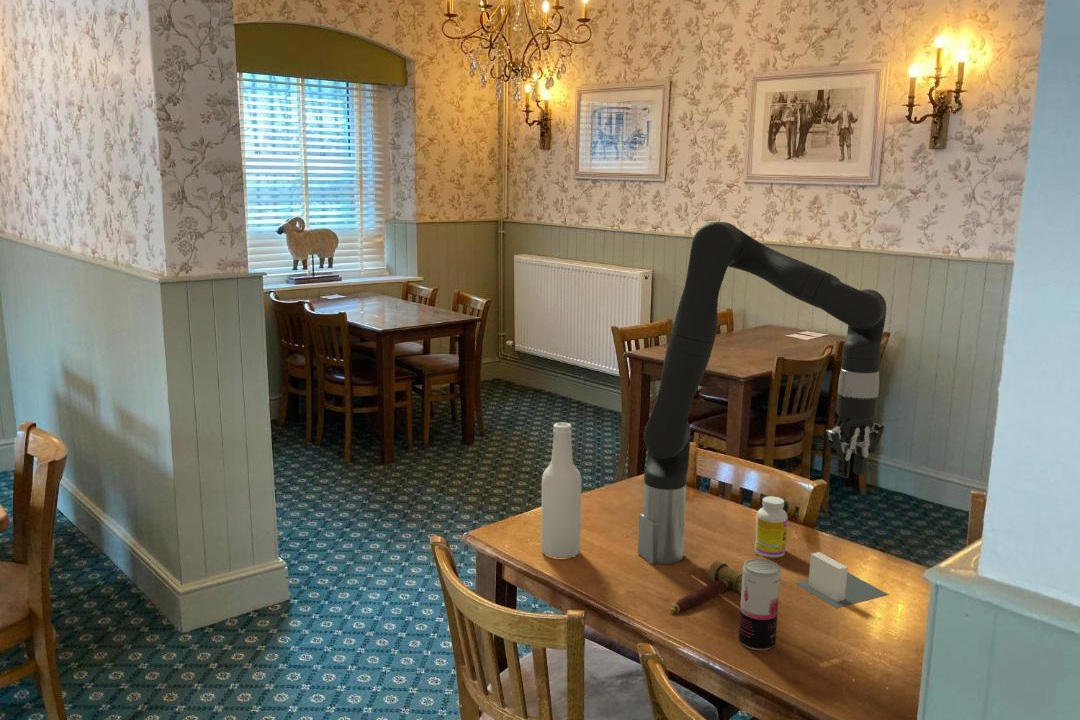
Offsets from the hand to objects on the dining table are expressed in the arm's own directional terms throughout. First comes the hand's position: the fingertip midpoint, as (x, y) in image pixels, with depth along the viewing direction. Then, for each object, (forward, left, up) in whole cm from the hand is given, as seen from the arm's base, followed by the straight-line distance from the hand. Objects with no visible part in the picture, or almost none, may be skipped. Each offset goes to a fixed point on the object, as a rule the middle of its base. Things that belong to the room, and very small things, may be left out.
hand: (850, 475), depth 178 cm
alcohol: (-44, +41, -25) cm, 65 cm away
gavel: (-27, +9, -26) cm, 39 cm away
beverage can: (-29, -9, -25) cm, 40 cm away
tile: (-4, 0, -25) cm, 25 cm away
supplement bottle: (-1, +21, -25) cm, 33 cm away
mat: (0, 0, -25) cm, 25 cm away
